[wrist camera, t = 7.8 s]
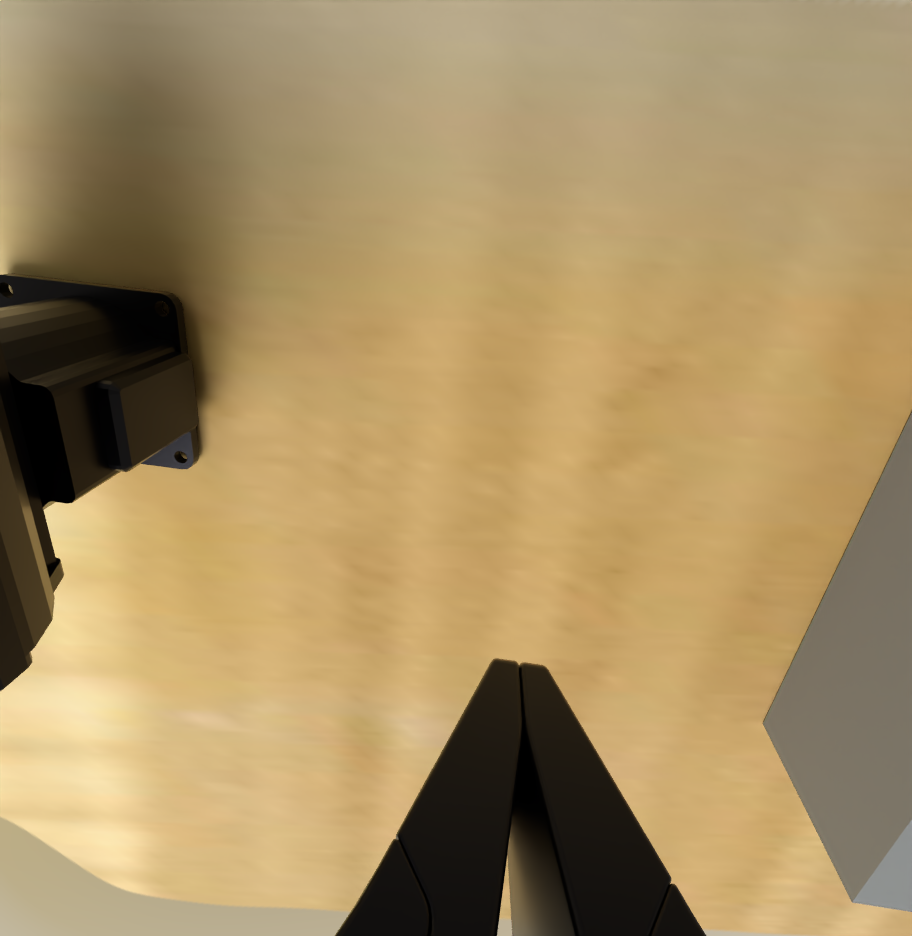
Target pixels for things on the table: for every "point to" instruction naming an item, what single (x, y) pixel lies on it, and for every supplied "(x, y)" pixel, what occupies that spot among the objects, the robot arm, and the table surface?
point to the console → (859, 701)
